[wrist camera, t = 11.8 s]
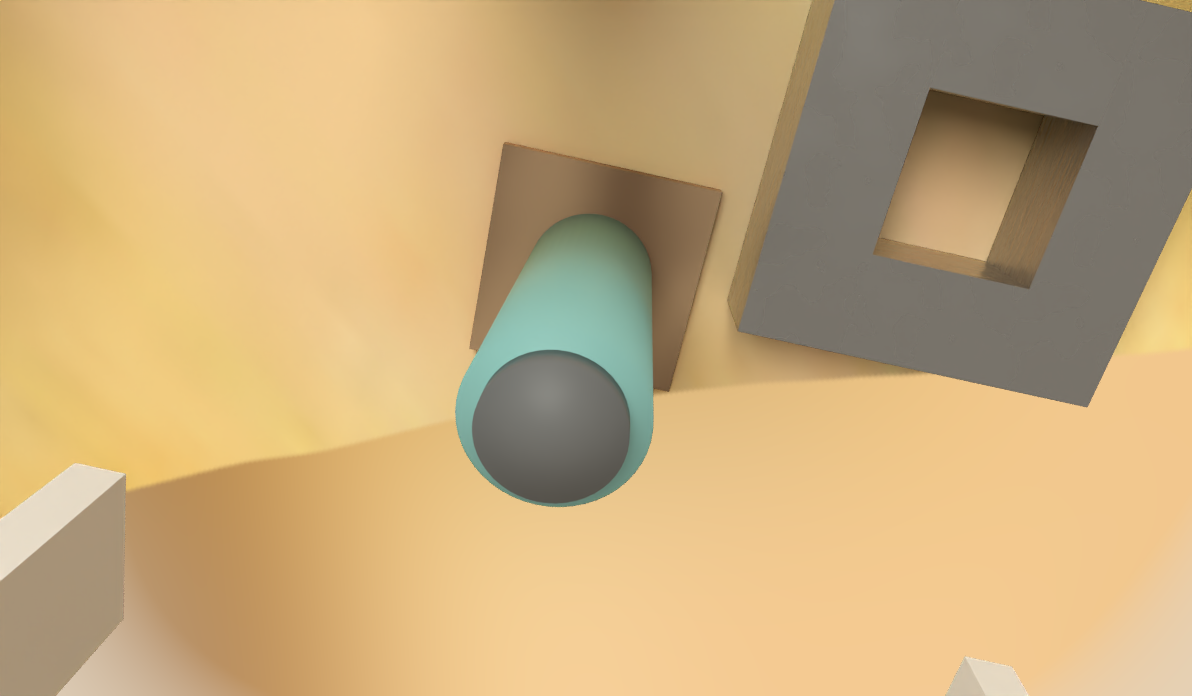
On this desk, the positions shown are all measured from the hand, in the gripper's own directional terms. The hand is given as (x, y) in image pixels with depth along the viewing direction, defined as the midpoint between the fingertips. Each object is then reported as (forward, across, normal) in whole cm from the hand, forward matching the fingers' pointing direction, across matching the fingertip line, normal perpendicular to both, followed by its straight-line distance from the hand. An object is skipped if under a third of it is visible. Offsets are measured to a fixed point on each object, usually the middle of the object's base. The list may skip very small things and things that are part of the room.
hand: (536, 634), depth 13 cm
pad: (+24, 0, -1) cm, 24 cm away
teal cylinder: (+23, 0, -1) cm, 23 cm away
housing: (+23, +13, +6) cm, 27 cm away
